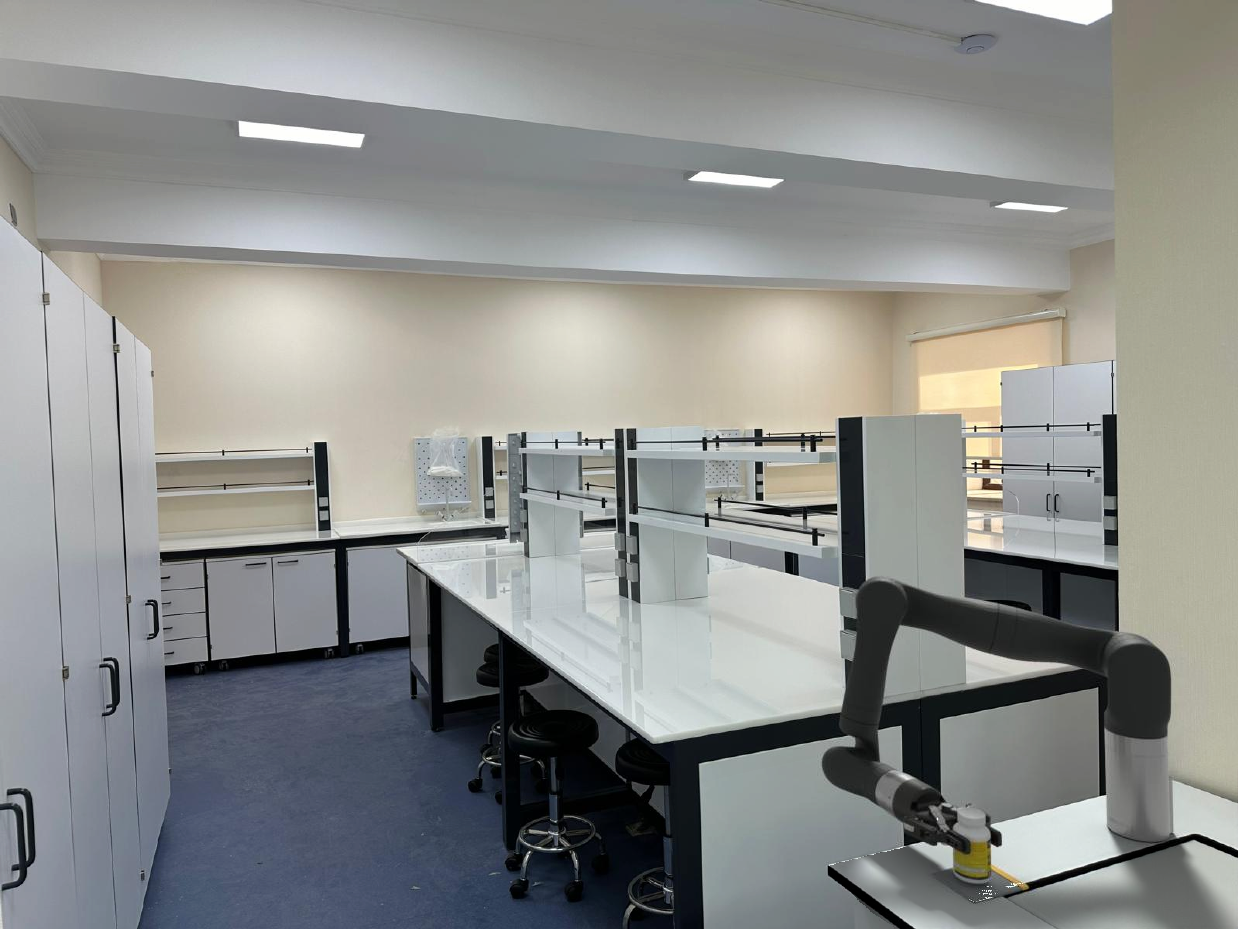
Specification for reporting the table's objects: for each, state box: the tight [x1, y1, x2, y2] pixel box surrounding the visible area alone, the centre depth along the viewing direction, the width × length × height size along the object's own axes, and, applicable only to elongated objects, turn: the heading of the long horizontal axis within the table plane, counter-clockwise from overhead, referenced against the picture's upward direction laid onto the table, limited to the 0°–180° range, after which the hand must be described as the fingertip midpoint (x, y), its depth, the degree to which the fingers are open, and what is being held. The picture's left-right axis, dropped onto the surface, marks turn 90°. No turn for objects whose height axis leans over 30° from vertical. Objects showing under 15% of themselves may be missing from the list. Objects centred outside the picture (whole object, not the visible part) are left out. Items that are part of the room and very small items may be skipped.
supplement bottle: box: [952, 806, 992, 884], centre depth 128 cm, size 5×5×10 cm
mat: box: [930, 863, 1030, 902], centre depth 128 cm, size 10×9×1 cm
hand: (984, 844), depth 126 cm, fingers closed on supplement bottle, 5 cm apart
